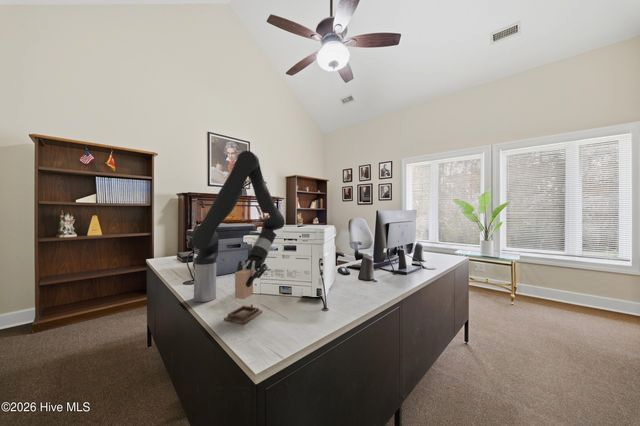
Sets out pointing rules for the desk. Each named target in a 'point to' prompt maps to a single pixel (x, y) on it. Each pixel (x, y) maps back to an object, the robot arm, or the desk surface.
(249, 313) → the walnut cradle
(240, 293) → the terracotta block
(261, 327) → the desk surface
